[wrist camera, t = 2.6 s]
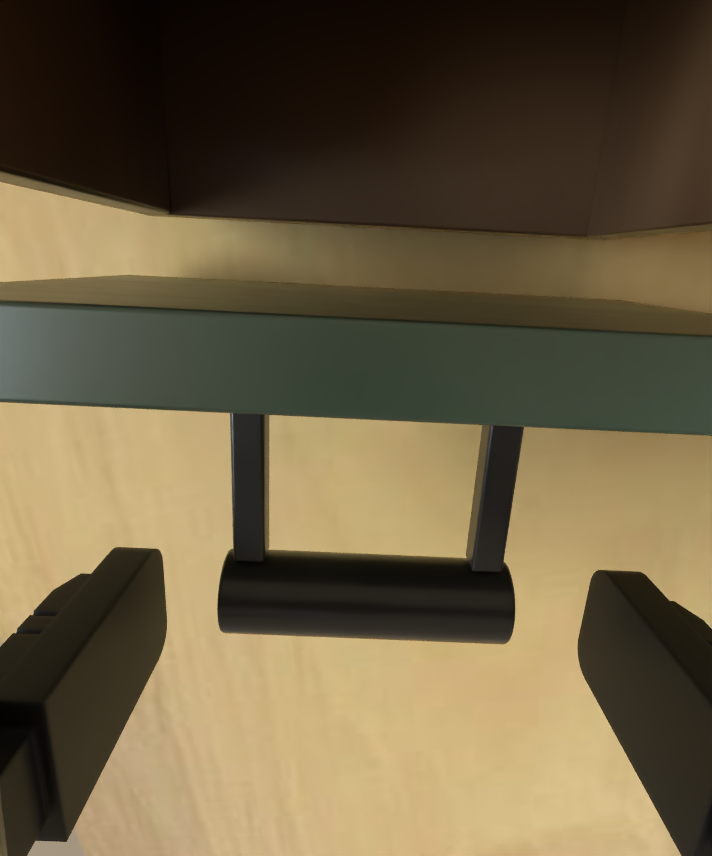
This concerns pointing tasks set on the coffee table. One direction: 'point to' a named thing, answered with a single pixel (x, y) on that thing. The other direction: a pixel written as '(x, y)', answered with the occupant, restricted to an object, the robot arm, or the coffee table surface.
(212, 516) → the coffee table surface
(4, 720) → the robot arm
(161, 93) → the drawer
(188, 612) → the coffee table surface
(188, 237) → the coffee table surface
